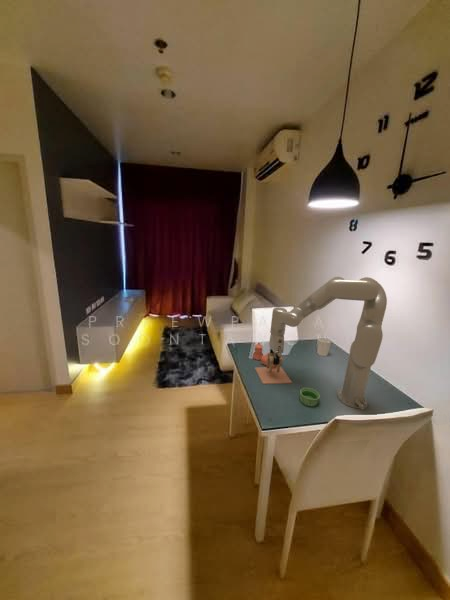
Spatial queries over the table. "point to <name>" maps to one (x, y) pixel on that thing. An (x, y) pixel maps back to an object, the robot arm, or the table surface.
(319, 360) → the table surface
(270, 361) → the stool
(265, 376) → the mat
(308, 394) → the ramekin
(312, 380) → the table surface
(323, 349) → the white cup
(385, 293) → the robot arm
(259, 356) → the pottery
